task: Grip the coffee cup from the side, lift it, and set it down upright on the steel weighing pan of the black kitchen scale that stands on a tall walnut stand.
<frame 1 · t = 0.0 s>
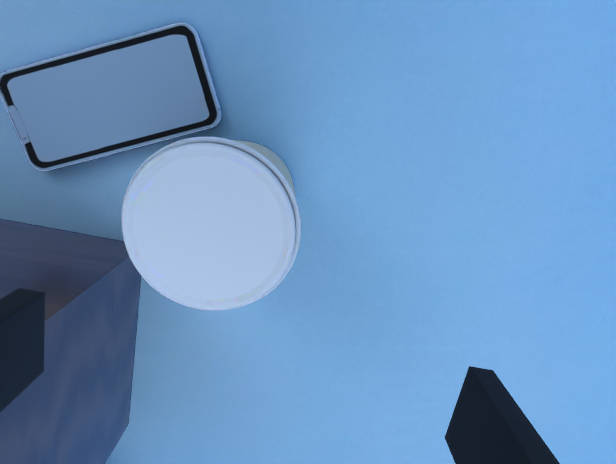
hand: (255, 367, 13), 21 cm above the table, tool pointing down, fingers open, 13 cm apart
stand: (38, 323, 35), on the table
smartphone: (115, 100, 30), on the table
coffee cup: (245, 190, 32), on the table
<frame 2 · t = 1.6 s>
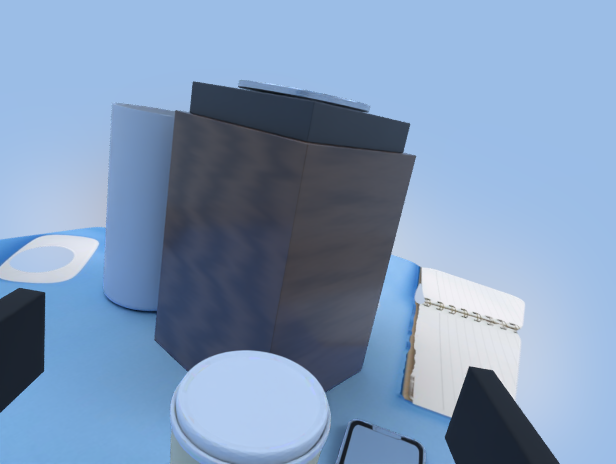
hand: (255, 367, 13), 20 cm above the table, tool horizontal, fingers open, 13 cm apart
cylinder vase: (151, 293, 58), on the table
scale: (298, 133, 41), resting on stand
stand: (259, 355, 48), on the table
scale pan: (304, 97, 40), point 30 cm above the table, slide at -0.3 cm
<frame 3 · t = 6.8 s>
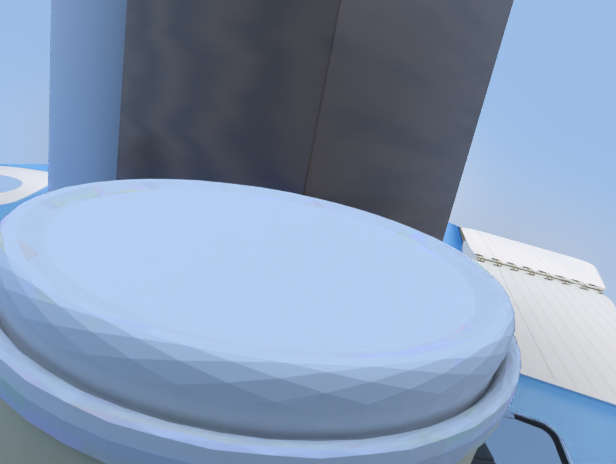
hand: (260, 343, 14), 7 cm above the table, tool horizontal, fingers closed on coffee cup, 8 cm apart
cylinder vase: (118, 225, 42), on the table
stand: (268, 298, 32), on the table
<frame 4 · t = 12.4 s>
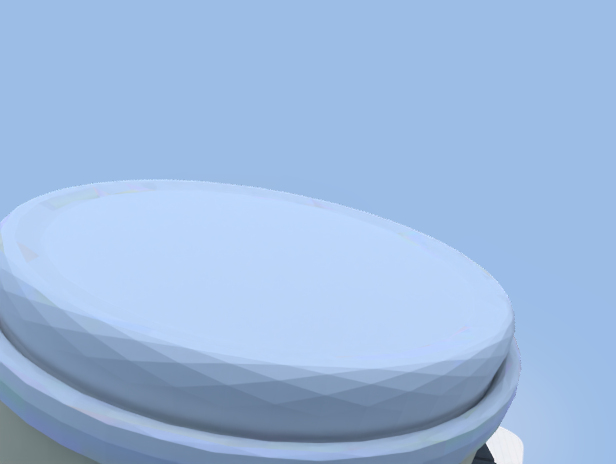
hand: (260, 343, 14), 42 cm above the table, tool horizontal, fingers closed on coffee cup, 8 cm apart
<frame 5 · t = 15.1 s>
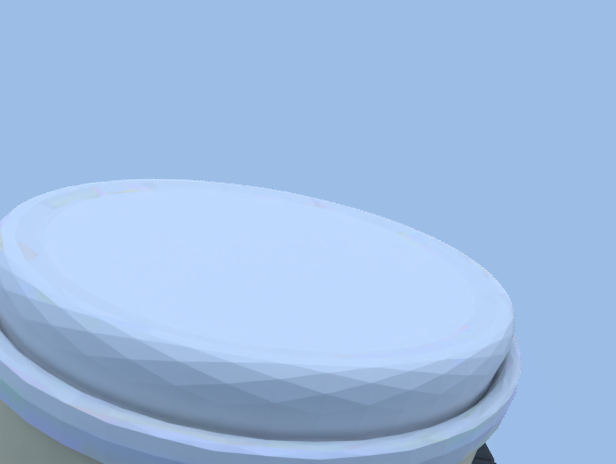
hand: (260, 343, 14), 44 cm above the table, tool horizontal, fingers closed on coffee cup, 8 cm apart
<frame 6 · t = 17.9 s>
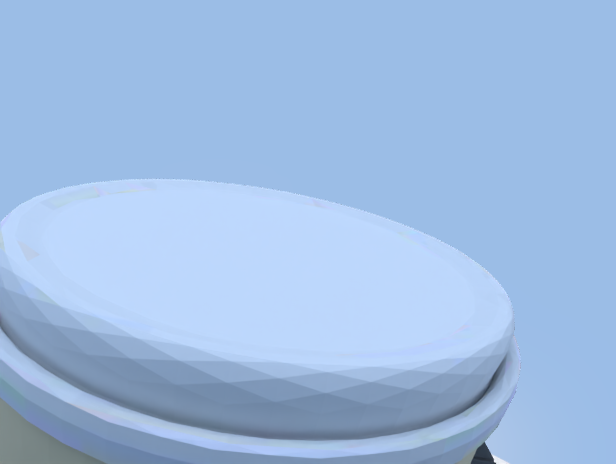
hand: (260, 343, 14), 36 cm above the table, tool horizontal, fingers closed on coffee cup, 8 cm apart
when the fingers open (36 cm above the table, at t = 17.9 s): coffee cup stays where it is, resting on scale pan.
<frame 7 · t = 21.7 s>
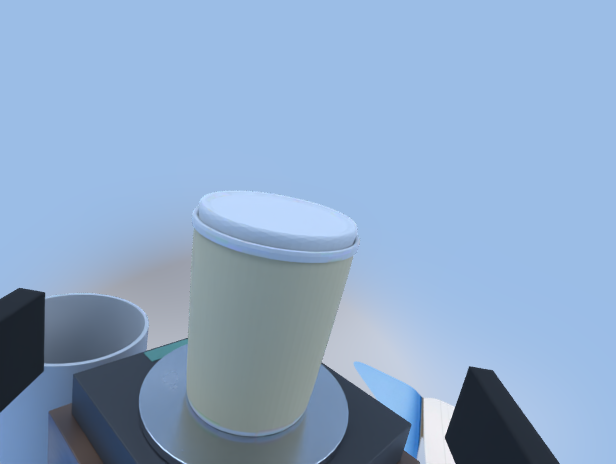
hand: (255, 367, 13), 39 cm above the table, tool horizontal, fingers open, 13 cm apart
scale: (240, 437, 27), resting on stand
scale pan: (248, 394, 26), point 29 cm above the table, slide at -0.6 cm, touching coffee cup
coffee cup: (248, 393, 26), point 29 cm above the table, touching scale pan
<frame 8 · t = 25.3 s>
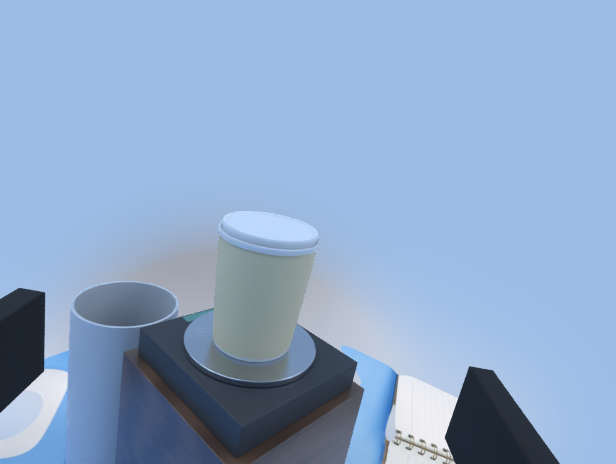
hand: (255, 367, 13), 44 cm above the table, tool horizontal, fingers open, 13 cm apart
cylinder vase: (115, 459, 58), on the table
scale: (246, 370, 41), resting on stand
scale pan: (251, 342, 40), point 29 cm above the table, slide at -0.6 cm, touching coffee cup
coffee cup: (251, 341, 40), point 29 cm above the table, touching scale pan
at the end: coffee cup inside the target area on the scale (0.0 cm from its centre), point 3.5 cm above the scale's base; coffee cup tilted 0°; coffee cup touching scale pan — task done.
